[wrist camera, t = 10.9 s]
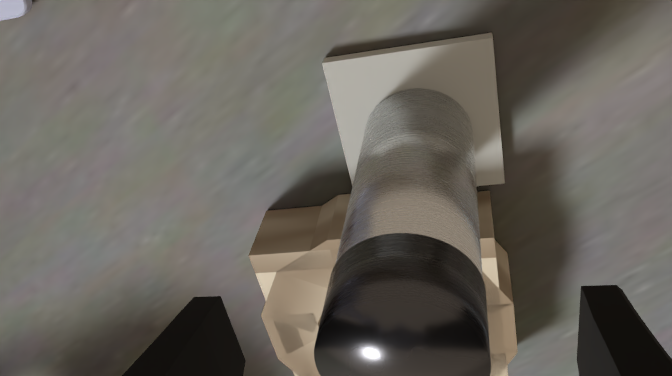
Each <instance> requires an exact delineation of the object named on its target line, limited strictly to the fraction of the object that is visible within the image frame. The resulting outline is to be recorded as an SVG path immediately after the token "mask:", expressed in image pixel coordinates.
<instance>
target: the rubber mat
mask: <svg viewBox="0 0 672 376" xmlns="http://www.w3.org/2000/svg"><path fill="white" fill-rule="evenodd" d="M322 64H323V69H324V73H325V77H326V81H327V85H328V89H329V93H330V97H331V101H332V105H333V109H334V113H335V118H336V122H337V126H338V130H339V134H340V138H341V142H342V146H343V150H344V154H345V158H346V163H347V167H348V171H349V175H350V179H351V183H352V186H353V182H354V177H355V173H356V168H357V163H358V159H359V154H360V150H361V145H362V141H363V136H364V132H365V127H366V123H367V120H368V118H369V116H370V114H371V112H372V111H373V109H374V108H375V107H376V106H377V105H378V104H379V103H380V102H381V101H382V100H383V99H385V98H386V97H388V96H390V95H391V94H394V93H396V92H399V91H402V90H406V89H413V88H424V89H431V90H435V91H438V92H441V93H443V94H446V95H448V96H449V97H451V98H453V99H454V100H455V101H456V102H458V103H459V104H460V105H461V106H462V107H463V109H464V110H465V111H466V113H467V114H468V116H469V118H470V121H471V124H472V128H473V138H474V153H475V168H476V183H477V186H484V185H495V184H505V178H504V166H503V154H502V142H501V130H500V118H499V106H498V94H497V82H496V70H495V58H494V46H493V36H492V33H486V34H479V35H472V36H466V37H459V38H453V39H446V40H439V41H433V42H426V43H420V44H413V45H406V46H400V47H393V48H387V49H380V50H373V51H367V52H360V53H353V54H347V55H340V56H334V57H327V58H324V60H323V62H322Z"/></svg>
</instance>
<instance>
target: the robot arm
mask: <svg viewBox="0 0 672 376" xmlns="http://www.w3.org/2000/svg"><path fill="white" fill-rule="evenodd" d="M31 8H32V0H0V21H1V20H6V19H11V18H17V17H20V16H22V15H24V14H26V13H27V12H29V11H30V9H31ZM577 363H578V369H579V376H672V359H671V358H670V356H669V355H668V354H667V353H666V351H665V350H664V349H663V347H662V346H661V345H660V344H659V342H658V341H657V339H656V338H655V337H654V335H653V334H652V333H651V331H650V330H649V329H648V327H647V326H646V325H645V323H644V322H643V320H642V319H641V318H640V316H639V315H638V313H637V312H636V310H635V309H634V307H633V306H632V304H631V303H630V301H629V300H628V298H627V297H626V295H625V294H624V292H623V291H622V289H620V288H619V287H618V286H617V285H604V286H581V297H580V315H579V332H578V349H577ZM244 366H245V358H244V356H243V353H242V351H241V348H240V345H239V343H238V340H237V338H236V335H235V332H234V330H233V327H232V325H231V322H230V319H229V317H228V314H227V312H226V309H225V306H224V304H223V301H222V299H221V296H217V297H194V298H193V299H192V300H191V301H190V302H189V303H188V304H187V305H186V306H185V307H184V309H183V310H182V311H181V312H180V313H179V314H178V315H177V316H176V317H175V319H174V320H173V321H172V322H171V323H170V324H169V325H168V326H167V327H166V329H165V330H164V331H163V332H162V333H161V334H160V335H159V336H158V337H157V339H156V340H155V341H154V342H153V343H152V344H151V345H150V346H149V347H148V348H147V350H146V351H145V352H144V353H143V354H142V355H141V356H140V357H139V358H138V359H137V360H136V361H135V362H134V364H133V365H132V366H131V367H130V368H129V369H128V370H127V371H126V372H125V373H124V374H123V375H122V376H243V372H244Z"/></svg>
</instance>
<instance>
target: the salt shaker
mask: <svg viewBox="0 0 672 376" xmlns="http://www.w3.org/2000/svg"><path fill="white" fill-rule="evenodd" d="M314 360H315V364H316V367H317V370H318V372H319V374H320V376H490V373H491V357H490V343H489V328H488V314H487V300H486V289H485V283H484V280H483V275H482V260H481V245H480V229H479V214H478V199H477V183H476V168H475V153H474V138H473V128H472V124H471V121H470V118H469V116H468V114H467V113H466V111H465V110H464V109H463V107H462V106H461V105H460V104H459V103H458V102H456V101H455V100H454V99H453V98H451V97H449V96H448V95H446V94H443V93H441V92H438V91H435V90H431V89H424V88H413V89H406V90H402V91H399V92H396V93H394V94H391V95H390V96H388V97H386V98H385V99H383V100H382V101H381V102H380V103H379V104H378V105H377V106H376V107H375V108H374V109H373V111H372V112H371V114H370V116H369V118H368V120H367V123H366V127H365V132H364V136H363V141H362V145H361V150H360V154H359V159H358V163H357V168H356V173H355V177H354V182H353V186H352V191H351V195H350V200H349V204H348V209H347V213H346V218H345V222H344V227H343V231H342V236H341V240H340V245H339V249H338V254H337V259H336V263H335V266H334V267H333V270H332V272H331V275H330V280H329V284H328V289H327V293H326V298H325V302H324V306H323V311H322V315H321V320H320V324H319V329H318V333H317V338H316V342H315V347H314Z"/></svg>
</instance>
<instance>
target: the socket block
mask: <svg viewBox="0 0 672 376" xmlns="http://www.w3.org/2000/svg"><path fill="white" fill-rule="evenodd" d="M350 195H351V194H343V195H337V196H336V197H334V198H333V199H331V200H330V201H328V202H327V203H325V204H324V205H322V206H314V207H303V208H292V209H281V210H270V211H266V213H265V216H264V218H263V221H262V223H261V226H260V228H259V231H258V233H257V236H256V238H255V241H254V243H253V246H252V248H251V251H250V253H249V258H250V260H251V263H252V266H253V268H254V271H255V273H256V276H257V279H258V281H259V284H260V287H261V289H262V292H263V294H264V297H265V300H266V302H265V305H264V308H263V311H262V314H261V317H262V319H263V322H264V324H265V327H266V329H267V332H268V335H269V337H270V340H271V342H272V345H273V347H274V350H275V352H276V355H277V357H278V359H279V360H280V361H281V362H282V363H284V364H285V365H286V366H287V367H289V368H290V369H291V370H292V371H293V373H294V375H295V376H320V374H319V372H318V370H317V367H316V364H315V360H314V347H315V342H316V338H317V333H318V329H319V324H320V320H321V315H322V311H323V306H324V302H325V298H326V293H327V289H328V284H329V280H330V275H331V272H332V270H333V267H334V266H335V263H336V259H337V254H338V249H339V245H340V240H341V236H342V231H343V227H344V222H345V218H346V213H347V209H348V204H349V200H350ZM477 199H478V214H479V229H480V245H481V260H482V275H483V280H484V283H485V289H486V300H487V314H488V328H489V343H490V357H491V373H490V376H508V369H507V365H508V364H509V363H510V361H511V360H512V359H513V357H514V356H515V355H516V354H517V340H516V328H515V316H514V304H513V296H512V287H511V279H510V270H509V262H508V253H507V252H506V251H505V250H504V249H503V248H502V247H501V246H500V245H499V244H498V243H497V241H496V240H495V238H494V228H493V218H492V208H491V198H490V190H489V191H478V192H477Z"/></svg>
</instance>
